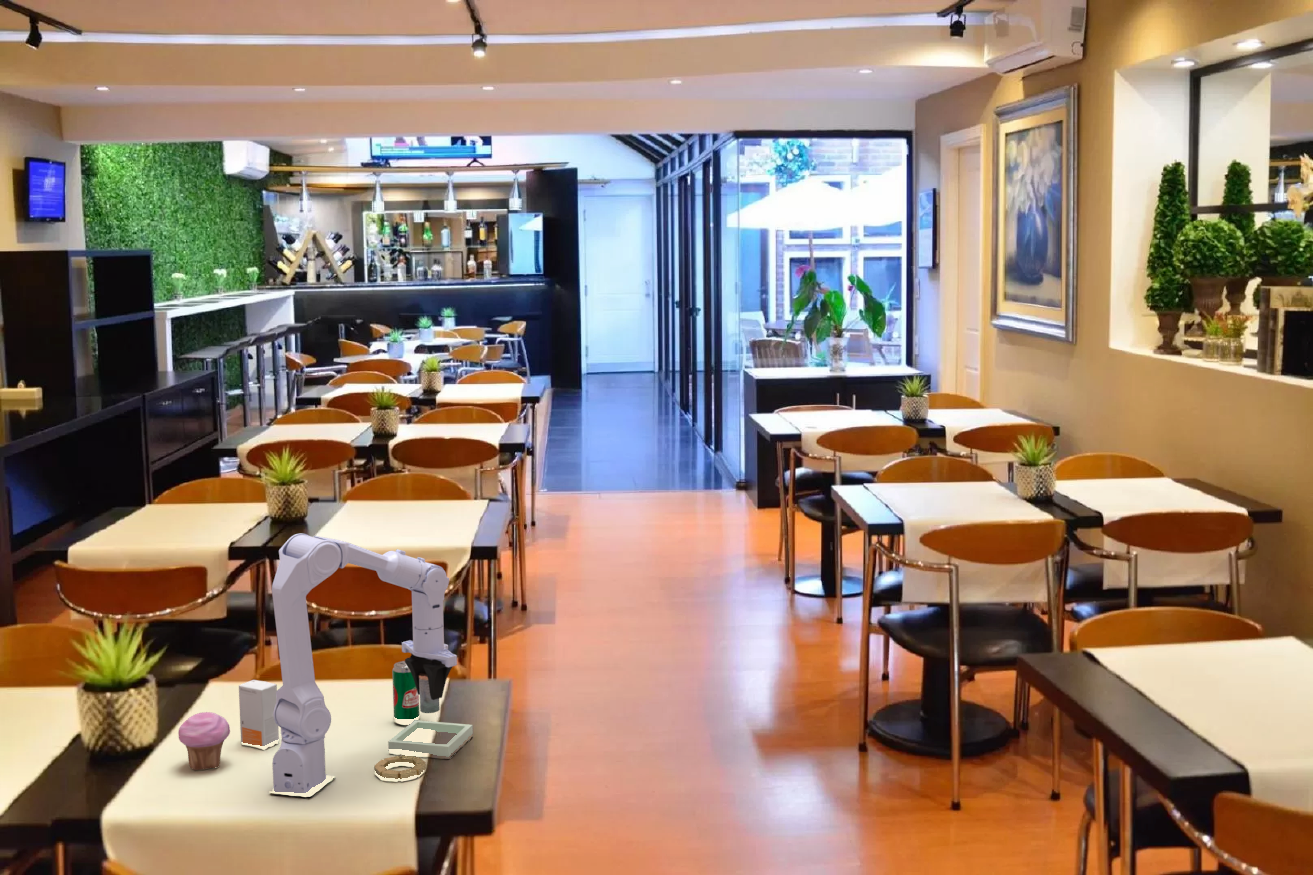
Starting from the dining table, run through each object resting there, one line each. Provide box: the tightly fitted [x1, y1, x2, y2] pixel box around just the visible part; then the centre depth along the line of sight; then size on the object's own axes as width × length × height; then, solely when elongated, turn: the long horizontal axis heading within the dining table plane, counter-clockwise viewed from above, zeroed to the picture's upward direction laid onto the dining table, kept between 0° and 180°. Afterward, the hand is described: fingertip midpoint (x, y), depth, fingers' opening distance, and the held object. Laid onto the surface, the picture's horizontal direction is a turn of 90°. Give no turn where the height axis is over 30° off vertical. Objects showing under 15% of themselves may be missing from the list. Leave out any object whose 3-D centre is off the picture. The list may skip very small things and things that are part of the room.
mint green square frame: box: [387, 719, 474, 757], centre depth 253 cm, size 12×12×2 cm
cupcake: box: [177, 711, 231, 771], centre depth 243 cm, size 9×9×10 cm
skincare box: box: [238, 679, 280, 746], centre depth 253 cm, size 6×4×12 cm
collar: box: [373, 755, 427, 779], centre depth 240 cm, size 9×9×2 cm
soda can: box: [391, 660, 420, 719], centre depth 265 cm, size 5×5×12 cm
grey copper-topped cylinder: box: [419, 672, 441, 714], centre depth 252 cm, size 4×4×7 cm
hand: (430, 695), depth 252 cm, fingers closed on grey copper-topped cylinder, 4 cm apart
